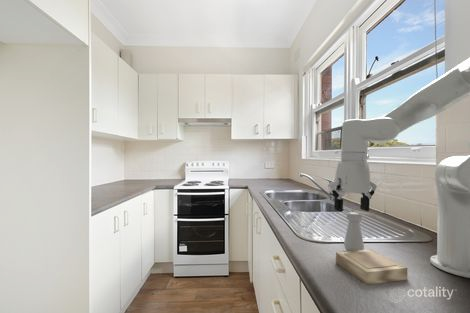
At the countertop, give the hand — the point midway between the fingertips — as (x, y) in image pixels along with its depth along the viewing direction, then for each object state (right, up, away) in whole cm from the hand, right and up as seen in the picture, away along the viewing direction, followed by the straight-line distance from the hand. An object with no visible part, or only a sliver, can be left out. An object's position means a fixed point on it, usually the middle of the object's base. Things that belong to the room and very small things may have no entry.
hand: (351, 210), depth 76 cm
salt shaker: (+1, -14, 0) cm, 14 cm away
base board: (-1, -14, -12) cm, 18 cm away
